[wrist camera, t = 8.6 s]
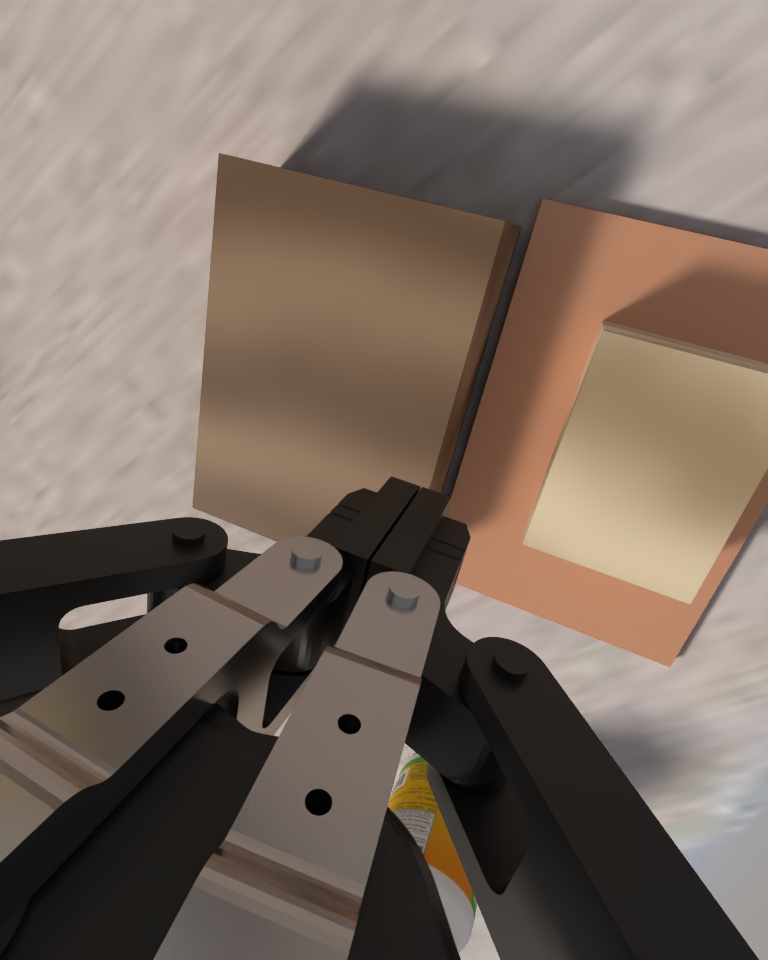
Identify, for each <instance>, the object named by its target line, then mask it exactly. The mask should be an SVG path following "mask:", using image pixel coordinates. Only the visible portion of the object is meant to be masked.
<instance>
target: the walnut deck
mask: <svg viewBox="0 0 768 960" xmlns="http://www.w3.org/2000/svg"><path fill="white" fill-rule="evenodd" d="M520 229H521V227H520V226H517V225H514V224H512V223H509V222H506V221H503V220H499V219H495V218H490V217H486V216H482V215H478V214H473V213H469V212H465V211H461V210H457V209H452V208H448V207H444V206H440V205H436V204H431V203H427V202H423V201H419V200H414V199H410V198H406V197H402V196H398V195H393V194H389V193H385V192H381V191H377V190H372V189H368V188H364V187H360V186H355V185H351V184H347V183H343V182H339V181H334V180H330V179H326V178H322V177H318V176H313V175H309V174H305V173H301V172H297V171H292V170H288V169H284V168H280V167H275V166H271V165H267V164H263V163H259V162H254V161H250V160H246V159H242V158H238V157H233V156H229V155H225V154H221V153H219V159H218V172H217V186H216V199H215V213H214V226H213V240H212V253H211V267H210V280H209V294H208V307H207V320H206V334H205V347H204V361H203V374H202V388H201V401H200V415H199V428H198V442H197V455H196V468H195V482H194V495H193V508H195V509H197V510H200V511H202V512H205V513H207V514H210V515H212V516H215V517H217V518H220V519H222V520H225V521H227V522H229V523H232V524H234V525H237V526H239V527H242V528H244V529H247V530H249V531H252V532H254V533H257V534H259V535H262V536H264V537H267V538H269V539H272V540H274V541H277V542H278V541H280V540H282V539H285V538H289V537H298V536H302V537H306V536H307V535H308V534H309V533H310V532H311V531H312V530H313V529H314V528H315V527H316V526H317V525H318V524H319V523H320V522H321V521H322V520H323V519H324V517H325V516H326V515H327V514H330V511H331V510H332V509H333V508H334V507H335V506H337V505H338V503H339V502H340V501H341V500H342V499H343V498H344V497H345V496H346V495H347V494H348V493H351V492H354V491H357V490H360V489H362V488H366V489H369V490H371V491H374V492H378V491H379V490H380V489H381V487H382V486H383V485H384V484H385V483H386V482H387V480H388V479H389V478H390V477H391V476H392V477H395V478H398V479H401V480H404V481H407V482H410V483H413V484H416V485H419V486H421V488H422V487H425V488H427V489H430V490H433V491H436V492H439V493H442V491H443V488H444V485H445V481H446V478H447V474H448V471H449V468H450V464H451V461H452V458H453V454H454V451H455V447H456V444H457V441H458V437H459V434H460V431H461V427H462V424H463V421H464V417H465V414H466V410H467V407H468V404H469V400H470V397H471V394H472V390H473V387H474V384H475V380H476V377H477V373H478V370H479V367H480V363H481V360H482V357H483V353H484V350H485V347H486V343H487V340H488V336H489V333H490V330H491V326H492V323H493V320H494V316H495V313H496V310H497V306H498V303H499V299H500V296H501V293H502V289H503V286H504V283H505V279H506V276H507V272H508V269H509V266H510V262H511V259H512V256H513V252H514V249H515V246H516V242H517V239H518V235H519V232H520Z"/></svg>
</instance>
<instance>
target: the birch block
mask: <svg viewBox="0 0 768 960" xmlns="http://www.w3.org/2000/svg"><path fill="white" fill-rule="evenodd" d="M767 469H768V363H764V362H760V361H756V360H753V359H749V358H745V357H741V356H737V355H733V354H730V353H726V352H722V351H718V350H714V349H710V348H706V347H703V346H699V345H695V344H691V343H687V342H683V341H680V340H676V339H672V338H668V337H664V336H660V335H656V334H653V333H649V332H645V331H641V330H637V329H633V328H630V327H626V326H622V325H618V324H614V323H610V322H606V321H603V320H602V323H601V326H600V328H599V331H598V334H597V336H596V339H595V342H594V344H593V347H592V350H591V352H590V355H589V358H588V360H587V363H586V366H585V368H584V371H583V374H582V376H581V379H580V382H579V384H578V387H577V390H576V392H575V395H574V398H573V400H572V403H571V406H570V408H569V411H568V414H567V416H566V419H565V422H564V424H563V427H562V430H561V432H560V435H559V438H558V440H557V443H556V446H555V448H554V451H553V454H552V456H551V459H550V461H549V464H548V467H547V469H546V472H545V475H544V477H543V480H542V483H541V485H540V488H539V491H538V493H537V496H536V499H535V501H534V504H533V507H532V509H531V512H530V516H529V520H528V524H527V528H526V532H525V536H524V540H523V545H526V546H528V547H531V548H534V549H537V550H540V551H542V552H545V553H548V554H551V555H554V556H556V557H559V558H562V559H565V560H567V561H570V562H573V563H576V564H579V565H581V566H584V567H587V568H590V569H593V570H595V571H598V572H601V573H604V574H607V575H609V576H612V577H615V578H618V579H620V580H623V581H626V582H629V583H632V584H634V585H637V586H640V587H643V588H646V589H648V590H651V591H654V592H657V593H659V594H662V595H665V596H668V597H671V598H673V599H676V600H679V601H682V602H685V603H687V604H691V603H692V601H693V599H694V597H695V596H696V594H697V592H698V590H699V588H700V587H701V585H702V583H703V581H704V580H705V578H706V576H707V574H708V573H709V571H710V569H711V567H712V566H713V564H714V562H715V560H716V559H717V557H718V555H719V553H720V552H721V550H722V548H723V546H724V544H725V543H726V541H727V539H728V537H729V536H730V534H731V532H732V530H733V529H734V527H735V525H736V523H737V522H738V520H739V518H740V516H741V515H742V513H743V511H744V509H745V507H746V506H747V504H748V502H749V500H750V499H751V497H752V495H753V493H754V492H755V490H756V488H757V486H758V485H759V483H760V481H761V479H762V478H763V476H764V474H765V472H766V470H767Z"/></svg>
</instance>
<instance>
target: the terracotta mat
mask: <svg viewBox="0 0 768 960" xmlns="http://www.w3.org/2000/svg"><path fill="white" fill-rule="evenodd" d="M602 320H603V321H606V322H610V323H614V324H618V325H622V326H626V327H630V328H633V329H637V330H641V331H645V332H649V333H653V334H656V335H660V336H664V337H668V338H672V339H676V340H680V341H683V342H687V343H691V344H695V345H699V346H703V347H706V348H710V349H714V350H718V351H722V352H726V353H730V354H733V355H737V356H741V357H745V358H749V359H753V360H756V361H760V362H764V363H768V249H765V248H760V247H756V246H752V245H747V244H743V243H738V242H734V241H729V240H725V239H720V238H716V237H712V236H707V235H703V234H698V233H694V232H689V231H685V230H680V229H676V228H672V227H667V226H663V225H658V224H654V223H649V222H645V221H640V220H636V219H632V218H627V217H623V216H618V215H614V214H609V213H605V212H600V211H596V210H592V209H587V208H583V207H578V206H574V205H569V204H565V203H560V202H556V201H552V200H547V199H542V202H541V206H540V209H539V212H538V216H537V219H536V222H535V225H534V229H533V232H532V235H531V238H530V242H529V245H528V248H527V251H526V255H525V258H524V261H523V264H522V268H521V271H520V274H519V278H518V281H517V284H516V287H515V291H514V294H513V297H512V300H511V304H510V307H509V310H508V313H507V317H506V320H505V323H504V326H503V330H502V333H501V336H500V339H499V343H498V346H497V349H496V353H495V356H494V359H493V362H492V366H491V369H490V372H489V375H488V379H487V382H486V385H485V388H484V392H483V395H482V398H481V401H480V405H479V408H478V411H477V415H476V418H475V421H474V424H473V428H472V431H471V434H470V437H469V441H468V444H467V447H466V450H465V454H464V457H463V460H462V463H461V467H460V470H459V473H458V477H457V480H456V483H455V486H454V490H453V493H452V496H451V497H452V501H451V505H450V508H449V512H448V515H447V517H448V518H451V519H454V520H456V521H459V522H462V523H465V524H466V525H467V528H468V531H469V534H470V537H471V538H470V541H469V544H468V547H467V550H466V554H465V557H464V560H463V563H462V566H461V569H460V572H459V575H458V578H457V581H456V584H458V585H461V586H463V587H466V588H469V589H471V590H474V591H476V592H479V593H481V594H484V595H486V596H489V597H492V598H494V599H497V600H499V601H502V602H504V603H507V604H510V605H512V606H515V607H517V608H520V609H522V610H525V611H527V612H530V613H533V614H535V615H538V616H540V617H543V618H545V619H548V620H550V621H553V622H556V623H558V624H561V625H563V626H566V627H568V628H571V629H574V630H576V631H579V632H581V633H584V634H586V635H589V636H591V637H594V638H597V639H599V640H602V641H604V642H607V643H609V644H612V645H614V646H617V647H620V648H622V649H625V650H627V651H630V652H632V653H635V654H638V655H640V656H643V657H645V658H648V659H650V660H653V661H655V662H658V663H661V664H663V665H666V666H668V667H670V666H671V665H672V663H673V661H674V660H675V658H676V656H677V655H678V653H679V651H680V650H681V648H682V646H683V645H684V643H685V641H686V640H687V638H688V636H689V635H690V633H691V631H692V630H693V628H694V626H695V624H696V623H697V621H698V619H699V618H700V616H701V614H702V613H703V611H704V609H705V608H706V606H707V604H708V603H709V601H710V599H711V598H712V596H713V594H714V593H715V591H716V589H717V587H718V586H719V584H720V582H721V581H722V579H723V577H724V576H725V574H726V572H727V571H728V569H729V567H730V566H731V564H732V562H733V561H734V559H735V557H736V556H737V554H738V552H739V550H740V549H741V547H742V545H743V544H744V542H745V540H746V539H747V537H748V535H749V534H750V532H751V530H752V529H753V527H754V525H755V524H756V522H757V520H758V519H759V517H760V515H761V513H762V512H763V510H764V508H765V507H766V505H767V503H768V469H767V470H766V472H765V474H764V476H763V478H762V479H761V481H760V483H759V485H758V486H757V488H756V490H755V492H754V493H753V495H752V497H751V499H750V500H749V502H748V504H747V506H746V507H745V509H744V511H743V513H742V515H741V516H740V518H739V520H738V522H737V523H736V525H735V527H734V529H733V530H732V532H731V534H730V536H729V537H728V539H727V541H726V543H725V544H724V546H723V548H722V550H721V552H720V553H719V555H718V557H717V559H716V560H715V562H714V564H713V566H712V567H711V569H710V571H709V573H708V574H707V576H706V578H705V580H704V581H703V583H702V585H701V587H700V588H699V590H698V592H697V594H696V596H695V597H694V599H693V601H692V603H691V604H687V603H685V602H682V601H679V600H676V599H673V598H671V597H668V596H665V595H662V594H659V593H657V592H654V591H651V590H648V589H646V588H643V587H640V586H637V585H634V584H632V583H629V582H626V581H623V580H620V579H618V578H615V577H612V576H609V575H607V574H604V573H601V572H598V571H595V570H593V569H590V568H587V567H584V566H581V565H579V564H576V563H573V562H570V561H567V560H565V559H562V558H559V557H556V556H554V555H551V554H548V553H545V552H542V551H540V550H537V549H534V548H531V547H528V546H526V545H523V540H524V536H525V532H526V528H527V524H528V520H529V516H530V512H531V509H532V507H533V504H534V501H535V499H536V496H537V493H538V491H539V488H540V485H541V483H542V480H543V477H544V475H545V472H546V469H547V467H548V464H549V461H550V459H551V456H552V454H553V451H554V448H555V446H556V443H557V440H558V438H559V435H560V432H561V430H562V427H563V424H564V422H565V419H566V416H567V414H568V411H569V408H570V406H571V403H572V400H573V398H574V395H575V392H576V390H577V387H578V384H579V382H580V379H581V376H582V374H583V371H584V368H585V366H586V363H587V360H588V358H589V355H590V352H591V350H592V347H593V344H594V342H595V339H596V336H597V334H598V331H599V328H600V326H601V323H602Z"/></svg>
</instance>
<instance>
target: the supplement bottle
mask: <svg viewBox="0 0 768 960" xmlns="http://www.w3.org/2000/svg"><path fill="white" fill-rule="evenodd" d="M426 765H427V761H426V760H424V759H423V758H422V757H421V756H420V755H419V754H417V753H416V754H414V755H413V756H411V757H410V758H409V759H408V760H407V761H406V763H405V764H404V766H403V768H402V770H401V772H400V775H399V777H398V780H397V782H396V785H395V788H394V790H393V793H392V795H391V798H390V801H389V804H388V807H389V808H390V809H391V810H392V811H393V812H394V813H395V814H396V816H397V817H398V818H399V819H400V820H401V821H402V823H403V824H404V825H405V827H406V828H407V829H408V830H409V832H410V833H411V834H412V836H413V838H414V839H415V841H416V843H417V844H418V846H419V847H420V849H421V851H422V853H423V855H424V857H425V859H426V861H427V863H428V865H429V867H430V870H431V872H432V875H433V877H434V880H435V883H436V886H437V889H438V892H439V895H440V898H441V901H442V904H443V907H444V910H445V913H446V916H447V919H448V923H449V926H450V929H451V932H452V935H453V938H454V941H455V944H456V947H457V950H458V953H459V952H460V951H461V950H462V949H463V948H464V947H465V946H466V944H467V943H468V941H469V938H470V936H471V932H472V928H473V923H474V918H475V912H476V907H477V901H476V898H475V896H474V893H473V891H472V889H471V886H470V884H469V881H468V879H467V876H466V874H465V871H464V869H463V866H462V864H461V862H460V859H459V857H458V854H457V852H456V849H455V847H454V844H453V842H452V840H451V837H450V835H449V832H448V830H447V827H446V825H445V822H444V820H443V817H442V815H441V813H440V810H439V808H438V805H437V803H436V800H435V798H434V795H433V793H432V791H431V788H430V786H429V783H428V780H427V775H426Z"/></svg>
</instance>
